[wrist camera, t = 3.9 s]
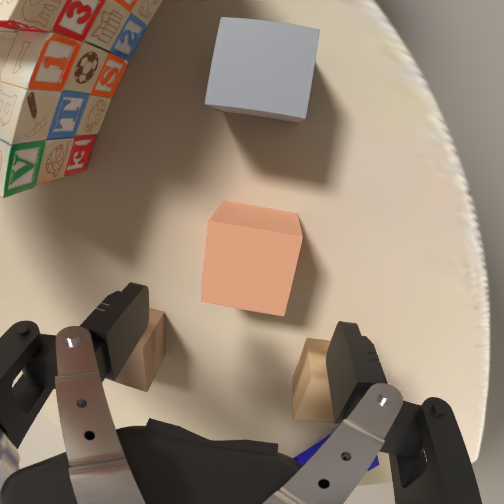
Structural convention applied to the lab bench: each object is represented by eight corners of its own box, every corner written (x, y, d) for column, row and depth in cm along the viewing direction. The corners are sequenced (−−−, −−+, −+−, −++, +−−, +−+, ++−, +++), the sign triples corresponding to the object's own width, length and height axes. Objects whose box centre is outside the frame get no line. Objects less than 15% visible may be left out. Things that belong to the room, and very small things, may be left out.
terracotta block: (216, 266, 22) (200, 301, 18) (224, 200, 20) (208, 220, 16) (283, 278, 22) (284, 316, 17) (297, 213, 20) (303, 236, 16)
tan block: (117, 341, 26) (95, 374, 21) (112, 298, 24) (84, 330, 20) (165, 354, 26) (147, 391, 21) (164, 311, 24) (142, 348, 19)
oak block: (292, 378, 26) (293, 419, 21) (306, 337, 24) (310, 379, 19) (342, 383, 26) (350, 423, 21) (361, 344, 24) (374, 384, 19)
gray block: (222, 111, 18) (204, 103, 13) (234, 43, 16) (220, 17, 11) (298, 123, 18) (305, 118, 13) (310, 54, 16) (319, 29, 11)
